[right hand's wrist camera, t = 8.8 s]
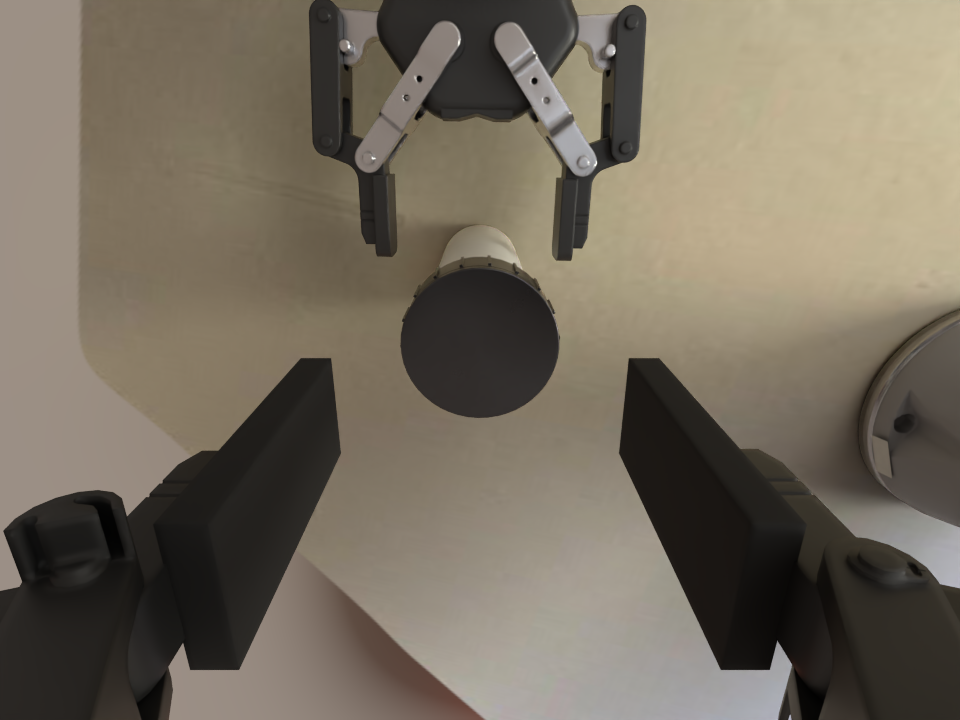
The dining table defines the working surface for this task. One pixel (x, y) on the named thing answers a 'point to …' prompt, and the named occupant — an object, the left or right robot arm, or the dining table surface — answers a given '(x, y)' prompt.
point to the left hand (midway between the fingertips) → (474, 256)
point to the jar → (479, 245)
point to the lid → (479, 337)
